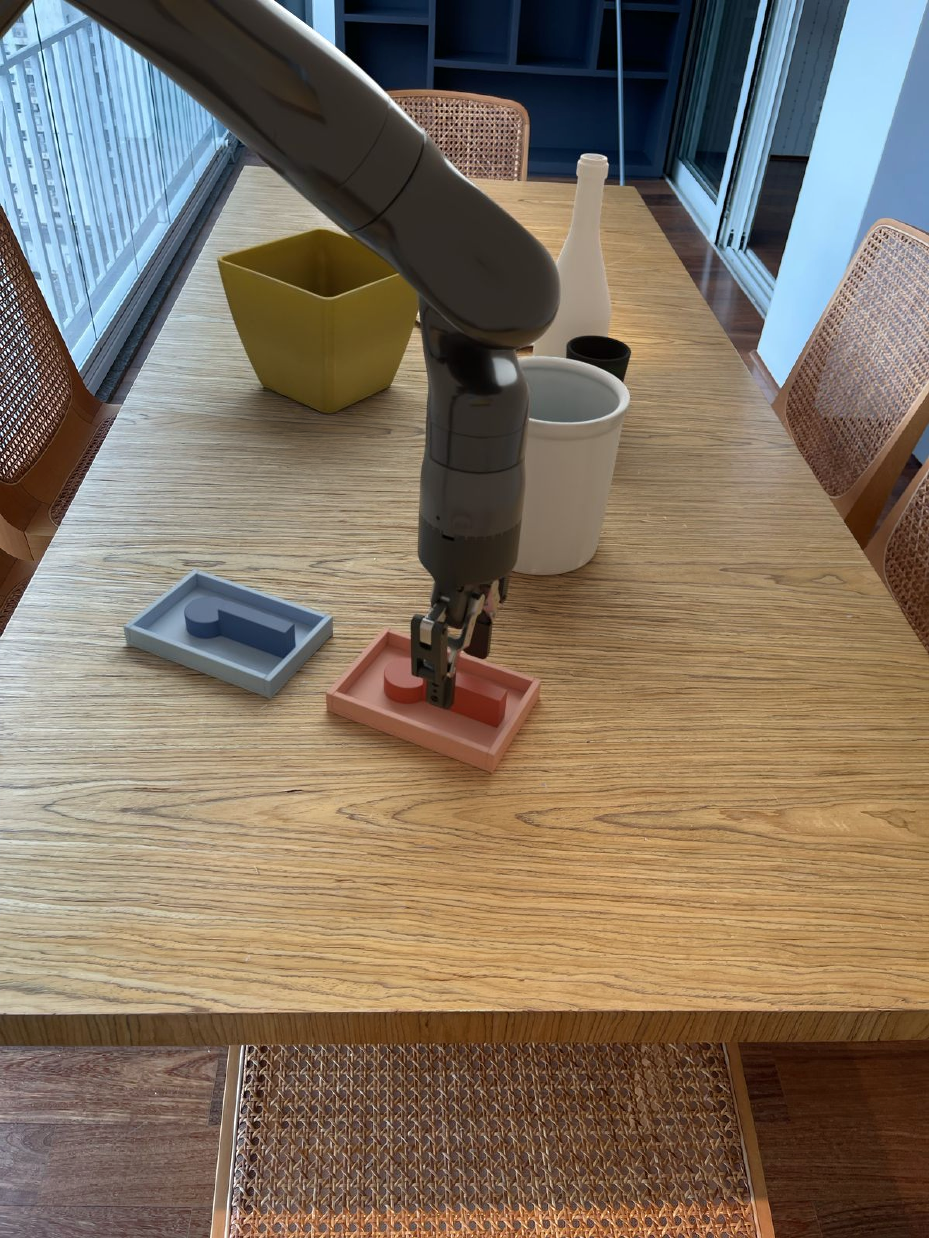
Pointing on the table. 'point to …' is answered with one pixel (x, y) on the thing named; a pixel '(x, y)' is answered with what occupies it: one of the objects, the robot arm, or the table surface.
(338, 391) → the flower pot
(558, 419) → the utensil holder
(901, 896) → the table surface
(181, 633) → the tray blue
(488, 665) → the tray pink
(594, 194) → the wine bottle
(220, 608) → the spoon blue
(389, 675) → the spoon red
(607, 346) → the cup
